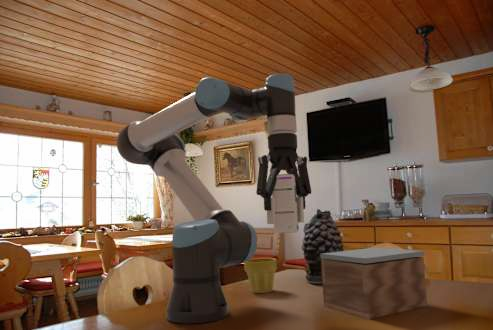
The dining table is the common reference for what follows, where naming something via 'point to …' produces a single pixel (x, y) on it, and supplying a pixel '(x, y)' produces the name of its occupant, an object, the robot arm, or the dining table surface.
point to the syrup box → (285, 204)
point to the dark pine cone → (319, 243)
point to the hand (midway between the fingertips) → (285, 223)
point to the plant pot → (261, 274)
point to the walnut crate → (374, 286)
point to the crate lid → (372, 255)
